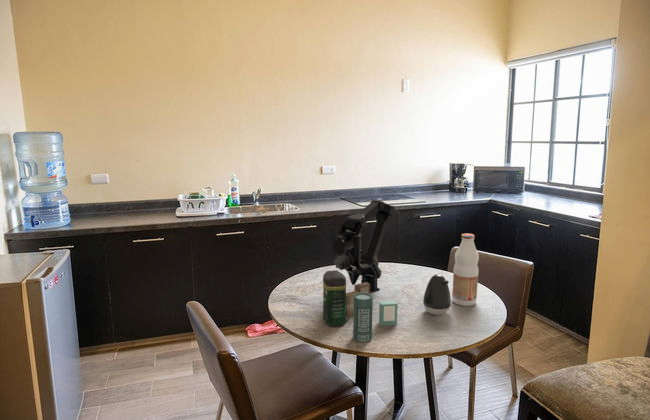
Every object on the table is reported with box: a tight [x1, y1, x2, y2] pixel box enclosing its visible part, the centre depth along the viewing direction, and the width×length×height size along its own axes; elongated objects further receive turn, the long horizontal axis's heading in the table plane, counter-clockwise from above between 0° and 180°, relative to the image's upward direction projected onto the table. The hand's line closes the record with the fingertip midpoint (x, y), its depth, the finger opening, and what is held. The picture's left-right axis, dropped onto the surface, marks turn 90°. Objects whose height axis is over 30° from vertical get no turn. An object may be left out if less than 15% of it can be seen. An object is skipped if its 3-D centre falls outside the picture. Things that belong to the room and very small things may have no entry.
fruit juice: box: [451, 232, 480, 307], centre depth 177 cm, size 9×9×28 cm
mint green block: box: [378, 300, 399, 326], centre depth 160 cm, size 3×6×8 cm, turn 96°
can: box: [352, 293, 374, 343], centre depth 149 cm, size 6×6×15 cm
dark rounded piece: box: [422, 274, 452, 316], centre depth 169 cm, size 10×10×15 cm
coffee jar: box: [322, 270, 347, 327], centre depth 161 cm, size 10×8×19 cm
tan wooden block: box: [346, 290, 360, 317], centre depth 169 cm, size 3×6×8 cm, turn 124°
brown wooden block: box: [353, 282, 371, 294], centre depth 178 cm, size 3×6×8 cm, turn 124°
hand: (353, 284), depth 183 cm, fingers closed
